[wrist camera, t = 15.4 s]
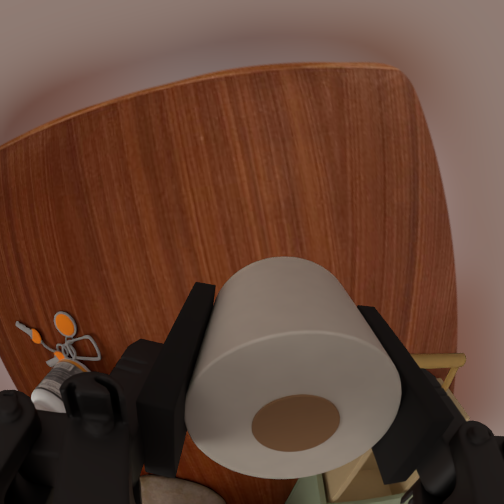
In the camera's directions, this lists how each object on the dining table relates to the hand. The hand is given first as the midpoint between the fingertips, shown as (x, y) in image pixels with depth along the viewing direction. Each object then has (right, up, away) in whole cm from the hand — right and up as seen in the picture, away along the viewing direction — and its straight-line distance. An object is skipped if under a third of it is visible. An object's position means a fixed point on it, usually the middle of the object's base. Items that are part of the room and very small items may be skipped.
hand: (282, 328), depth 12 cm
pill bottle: (-23, -12, +19) cm, 32 cm away
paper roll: (0, 0, 0) cm, 0 cm away
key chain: (-24, -8, +18) cm, 31 cm away
